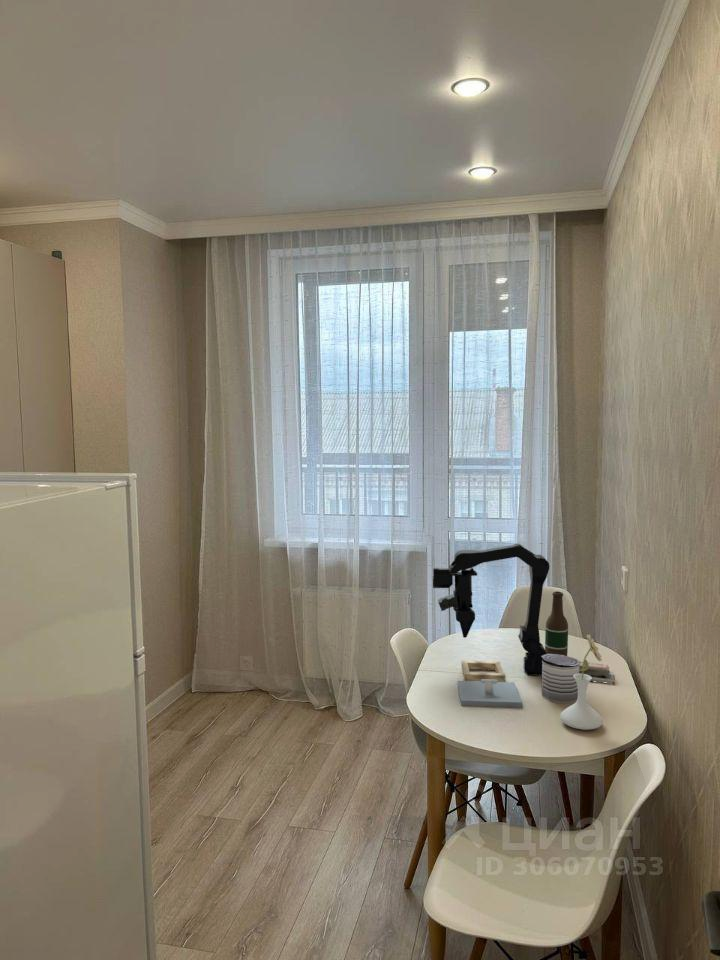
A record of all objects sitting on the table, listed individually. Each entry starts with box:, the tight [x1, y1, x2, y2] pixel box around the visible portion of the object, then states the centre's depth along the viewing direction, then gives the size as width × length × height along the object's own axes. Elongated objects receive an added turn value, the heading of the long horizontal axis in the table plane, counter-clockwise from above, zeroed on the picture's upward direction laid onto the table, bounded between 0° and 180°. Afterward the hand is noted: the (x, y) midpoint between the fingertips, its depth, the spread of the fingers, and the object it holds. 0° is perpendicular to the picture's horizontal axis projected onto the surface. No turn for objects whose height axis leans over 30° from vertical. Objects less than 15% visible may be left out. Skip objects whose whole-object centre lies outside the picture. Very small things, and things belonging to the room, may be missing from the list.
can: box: [541, 654, 581, 704], centre depth 214 cm, size 11×11×12 cm
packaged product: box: [578, 660, 615, 684], centre depth 232 cm, size 18×5×10 cm
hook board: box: [456, 679, 523, 708], centre depth 214 cm, size 18×16×6 cm
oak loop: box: [461, 660, 506, 682], centre depth 232 cm, size 13×13×2 cm
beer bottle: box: [544, 590, 569, 656], centre depth 248 cm, size 8×8×24 cm
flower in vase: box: [559, 634, 604, 731], centre depth 194 cm, size 13×11×25 cm
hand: (463, 633), depth 236 cm, fingers open, 9 cm apart
